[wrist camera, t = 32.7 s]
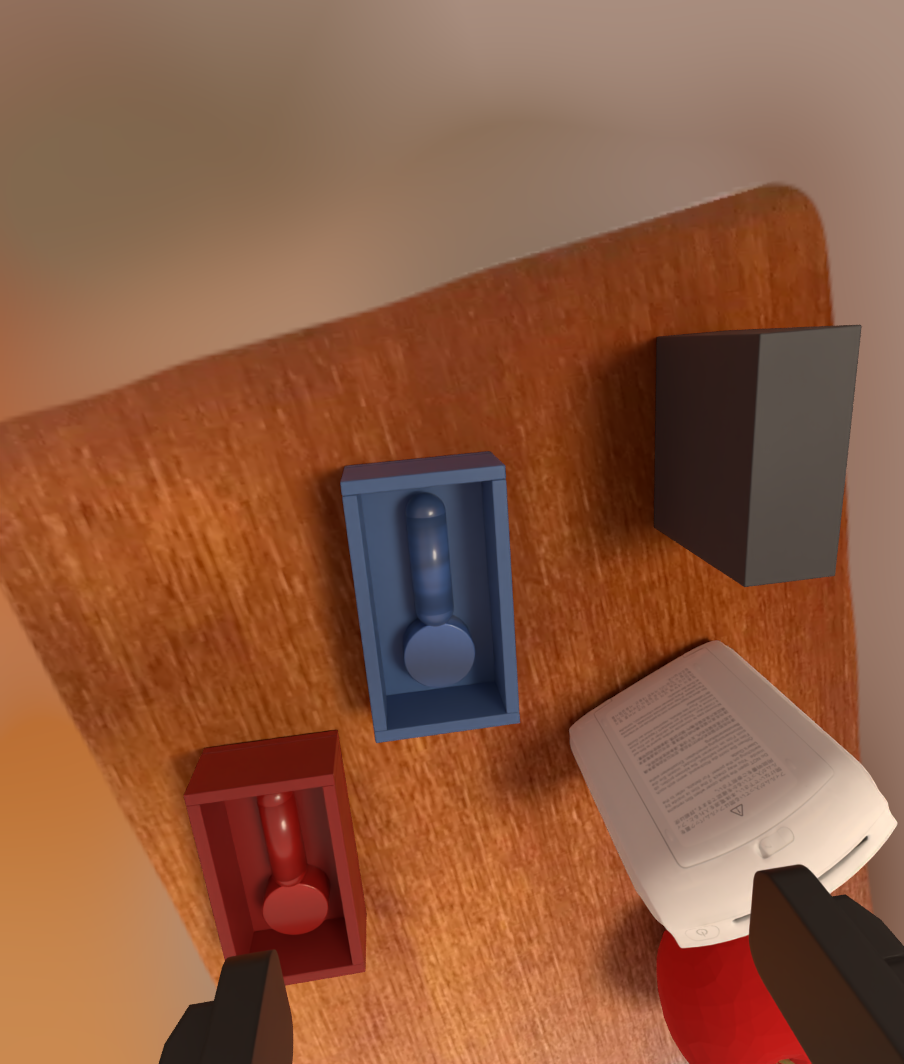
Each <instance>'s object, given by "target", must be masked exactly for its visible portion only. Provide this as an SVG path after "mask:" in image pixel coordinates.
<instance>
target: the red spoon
mask: <svg viewBox="0 0 904 1064" xmlns="http://www.w3.org/2000/svg"><path fill="white" fill-rule="evenodd" d="M256 800H257V805H258V809H259V814H260V819H261V824H262V828H263V833H264V838H265V843H266V848H267V852H268V857H269V862H270V867H271V871H272V876H271V877H270V879H269V881H268V883H267V886H266V891H265V896H264V901H263V906H262V914H263V917H264V920H265V922H266V923H267V924H268V925H269V926H270V927H271V928H272V929H274V930H275V931H277V932H280V933H283V934H288V935H298V934H304V933H307V932H310V931H312V930H314V929H316V928H317V927H318V926H319V925H321V924H322V922H323V921H324V920H325V918H326V916H327V914H328V909H329V898H330V882H329V879H328V877H327V876H326V874H325V873H324V872H323V871H322V870H321V869H319V868H317V867H315V866H313V865H310V864H307V858H306V852H305V847H304V842H303V836H302V831H301V826H300V820H299V815H298V810H297V804H296V799H295V794H294V791H288V792H281V793H274V794H267V795H260V796H256Z"/></svg>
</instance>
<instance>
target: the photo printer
mask: <svg viewBox="0 0 904 1064" xmlns="http://www.w3.org/2000/svg"><path fill="white" fill-rule="evenodd" d="M569 734H570V746H571V750H572V752H573V755H574V757H575V759H576V761H577V764H578V766H579V768H580V770H581V772H582V775H583V777H584V779H585V781H586V783H587V786H588V788H589V790H590V792H591V794H592V796H593V799H594V801H595V803H596V805H597V807H598V810H599V812H600V814H601V816H602V818H603V820H604V823H605V825H606V827H607V830H608V832H609V834H610V836H611V838H612V840H613V843H614V845H615V847H616V849H617V851H618V853H619V856H620V858H621V860H622V862H623V864H624V866H625V869H626V871H627V873H628V875H629V877H630V879H631V881H632V884H633V886H634V888H635V890H636V891H637V893H638V894H639V896H640V897H641V898H642V900H643V901H644V903H645V904H646V906H647V907H648V909H649V911H650V912H651V914H652V915H653V916H654V917H655V919H656V920H657V921H658V922H660V923H661V924H662V925H664V926H665V928H666V929H667V930H668V931H669V932H670V933H671V934H672V935H673V937H674V938H675V940H676V942H677V943H678V945H679V947H681V948H689V947H699V946H707V945H713V944H717V943H721V942H726V941H730V940H733V939H737V938H740V937H743V936H746V935H749V925H750V913H751V901H752V889H753V879H754V875H755V873H756V872H757V871H760V870H766V869H772V868H778V867H784V866H790V865H796V864H801V865H804V866H805V867H807V868H808V869H809V870H810V871H811V872H812V873H813V874H814V875H815V876H816V877H817V879H818V880H819V881H820V882H821V884H822V885H823V886H824V887H825V888H826V890H827V891H828V892H829V893H831V892H832V891H834V890H835V889H837V888H838V887H839V886H841V885H842V884H843V883H845V882H846V881H847V880H848V879H849V878H851V877H852V876H853V875H854V874H855V873H856V872H858V871H859V870H860V869H861V868H862V867H863V866H864V865H865V864H866V863H867V862H868V861H869V860H870V859H871V858H872V857H873V856H874V855H875V853H876V852H877V851H878V850H879V849H880V848H881V847H882V845H883V844H884V843H885V841H886V840H887V839H888V837H889V836H890V835H891V833H892V832H893V830H894V828H895V827H896V825H897V821H896V820H895V819H894V817H893V816H892V814H891V812H890V811H889V808H888V802H887V801H886V799H885V798H884V796H883V795H882V794H881V793H880V791H879V790H878V788H877V786H876V784H875V782H874V781H873V779H872V777H871V776H870V774H869V773H868V772H867V770H866V769H865V768H864V767H863V766H862V764H860V763H859V762H858V761H857V760H856V759H855V758H854V757H853V756H852V755H851V754H850V753H849V752H847V751H846V750H845V749H844V748H843V747H842V746H841V745H839V744H838V743H837V742H836V741H835V740H834V739H833V738H832V737H831V736H829V735H828V734H827V733H826V732H825V731H824V730H823V729H822V728H820V727H819V726H818V725H817V724H816V723H815V722H814V721H813V720H811V719H810V718H809V717H808V716H807V715H806V714H805V713H804V712H803V711H801V710H800V709H799V708H798V707H797V706H796V705H795V704H793V703H792V702H791V701H790V700H789V699H788V698H787V697H786V696H785V695H783V694H782V693H781V692H780V691H779V690H778V689H777V688H776V687H774V686H773V685H772V684H771V683H770V682H769V681H768V680H767V679H765V678H764V677H763V676H762V675H761V674H760V673H759V672H758V671H756V670H755V669H754V668H753V667H752V666H751V665H750V664H748V663H747V662H746V661H745V660H744V659H743V658H742V657H741V656H739V655H738V654H737V653H736V652H735V651H734V650H733V649H731V648H730V647H728V646H726V645H724V644H723V643H722V642H720V641H718V640H715V641H710V642H708V643H705V644H703V645H701V646H698V647H696V648H694V649H692V650H691V651H689V652H687V653H685V654H683V655H682V656H680V657H678V658H677V659H675V660H673V661H671V662H670V663H668V664H666V665H665V666H663V667H661V668H660V669H658V670H656V671H655V672H653V673H651V674H650V675H648V676H646V677H645V678H643V679H641V680H640V681H638V682H636V683H635V684H633V685H632V686H630V687H628V688H627V689H625V690H623V691H622V692H620V693H618V694H617V695H615V696H614V697H612V698H610V699H608V700H607V701H605V702H604V703H602V704H601V705H599V706H598V707H596V708H594V709H593V710H591V711H590V712H588V713H587V714H586V715H584V716H583V717H581V718H580V719H579V720H578V721H576V722H575V723H574V724H573V725H572V726H571V727H570V729H569Z"/></svg>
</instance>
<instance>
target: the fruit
mask: <svg viewBox="0 0 904 1064" xmlns="http://www.w3.org/2000/svg"><path fill="white" fill-rule="evenodd" d="M657 984H658V992H659V997H660V1001H661V1006H662V1010H663V1015H664V1018H665V1021H666V1024H667V1026H668V1029H669V1031H670V1034H671V1036H672V1038H673V1040H674V1041H675V1043H676V1045H677V1046H678V1048H679V1050H680V1051H681V1053H682V1054H683V1056H684V1057H685V1058H686V1060H687V1061H688V1062H689V1064H812V1063H811V1061H810V1060H809V1058H808V1056H807V1055H806V1053H805V1051H804V1050H803V1048H802V1046H801V1045H800V1043H799V1041H798V1040H797V1038H796V1036H795V1035H794V1033H793V1031H792V1030H791V1028H790V1026H789V1025H788V1023H787V1021H786V1020H785V1018H784V1016H783V1015H782V1013H781V1011H780V1010H779V1008H778V1006H777V1005H776V1003H775V1001H774V1000H773V998H772V996H771V995H770V993H769V991H768V990H767V988H766V986H765V985H764V983H763V981H762V980H761V978H760V976H759V974H758V971H757V969H756V967H755V964H754V961H753V958H752V955H751V951H750V946H749V935H746V936H743V937H740V938H737V939H733V940H730V941H726V942H721V943H717V944H713V945H707V946H699V947H689V948H681V947H679V945H678V943H677V942H676V940H675V938H674V937H673V935H672V934H671V933H670V932H669V931H668V930H667V929H666V930H665V931H664V933H663V936H662V939H661V942H660V945H659V948H658V954H657Z"/></svg>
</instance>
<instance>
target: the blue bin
mask: <svg viewBox="0 0 904 1064" xmlns="http://www.w3.org/2000/svg"><path fill="white" fill-rule="evenodd" d="M505 478H506V471H505V465H504V464H503V463H502V462H501V461H500V460H499V459H498V458H497V457H495V456H494V455H493V454H492V453H491V452H490V451H488V452H478V453H468V454H458V455H448V456H438V457H429V458H419V459H409V460H399V461H389V462H379V463H369V464H359V465H350V466H345V467H344V471H343V475H342V478H341V482H340V486H341V493H342V501H343V508H344V515H345V522H346V530H347V537H348V544H349V552H350V559H351V566H352V573H353V581H354V588H355V595H356V603H357V610H358V617H359V624H360V632H361V639H362V646H363V654H364V661H365V668H366V675H367V683H368V690H369V697H370V705H371V712H372V719H373V726H374V734H375V741H376V743H380V742H387V741H394V740H401V739H408V738H416V737H423V736H430V735H437V734H444V733H451V732H459V731H466V730H473V729H480V728H487V727H494V726H501V725H509V724H516V723H520V716H519V698H518V681H517V663H516V645H515V628H514V610H513V593H512V575H511V557H510V540H509V522H508V505H507V487H506V479H505ZM423 492H428V493H432V494H435V495H436V496H438V497H439V498H440V499H441V500H442V502H443V503H444V505H445V509H446V519H447V531H448V542H449V554H450V566H451V578H452V589H453V601H454V611H453V615H455V616H457V617H458V618H460V619H461V620H462V621H463V622H464V623H465V624H466V625H467V627H468V629H469V631H470V634H471V637H472V640H473V643H474V646H475V661H474V664H473V666H472V668H471V670H470V672H469V673H468V674H467V676H466V677H464V678H463V679H462V680H461V681H459V682H458V683H456V684H454V685H452V686H448V687H444V688H432V687H427V686H424V685H422V684H420V683H418V682H417V681H415V680H414V679H413V678H412V677H411V676H410V675H409V673H408V672H407V670H406V667H405V664H404V658H403V638H404V635H405V632H406V630H407V628H408V627H409V626H410V624H411V623H412V622H413V621H415V620H416V619H417V618H418V616H417V614H416V610H415V601H414V591H413V582H412V572H411V562H410V553H409V543H408V534H407V524H406V515H405V511H406V506H407V504H408V502H409V500H410V499H411V498H412V497H413V496H415V495H417V494H419V493H423Z"/></svg>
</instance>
